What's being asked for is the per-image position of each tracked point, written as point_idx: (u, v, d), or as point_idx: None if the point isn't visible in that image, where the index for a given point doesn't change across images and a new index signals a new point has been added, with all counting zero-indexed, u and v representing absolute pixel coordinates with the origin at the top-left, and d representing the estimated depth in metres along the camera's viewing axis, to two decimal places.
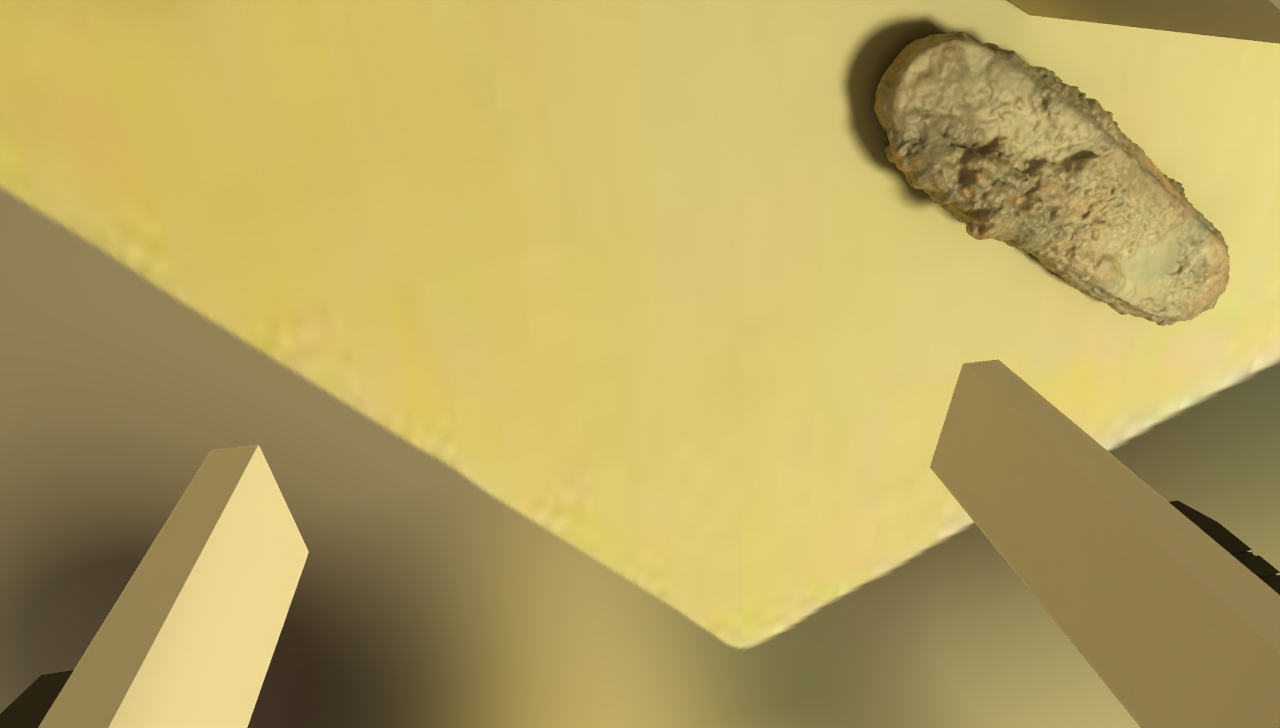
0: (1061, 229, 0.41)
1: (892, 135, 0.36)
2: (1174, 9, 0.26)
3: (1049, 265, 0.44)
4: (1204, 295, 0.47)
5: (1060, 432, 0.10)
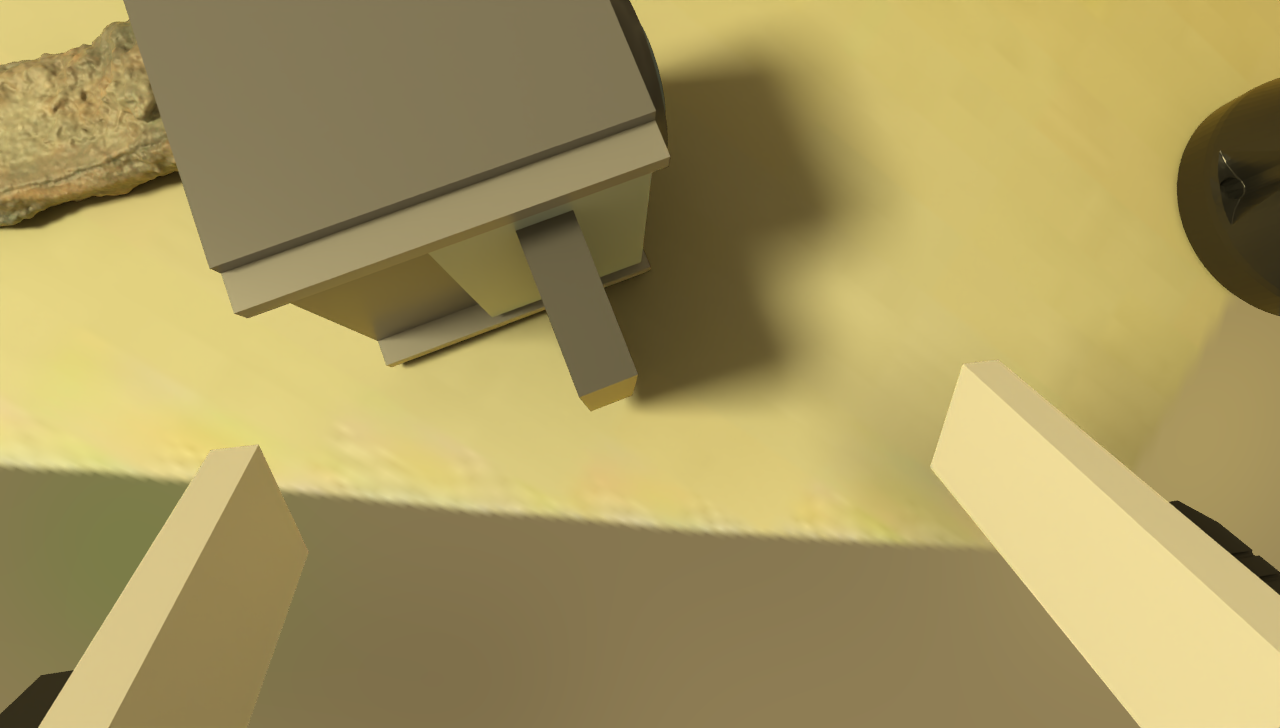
0: (93, 60, 0.35)
1: None
2: None
3: None
4: None
5: (1060, 432, 0.10)
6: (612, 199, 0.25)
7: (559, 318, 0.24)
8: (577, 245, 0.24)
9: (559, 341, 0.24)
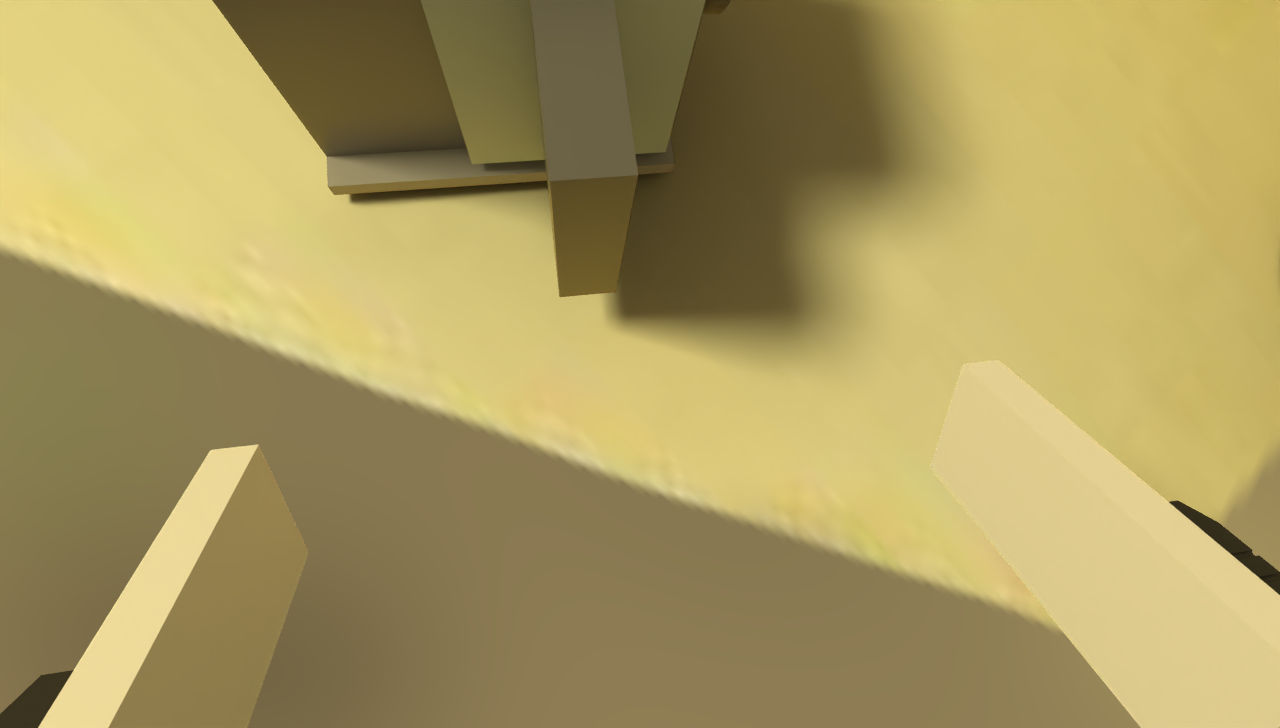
0: None
1: None
2: None
3: None
4: None
5: (1060, 432, 0.10)
6: None
7: (551, 78, 0.17)
8: (602, 0, 0.18)
9: (544, 105, 0.17)
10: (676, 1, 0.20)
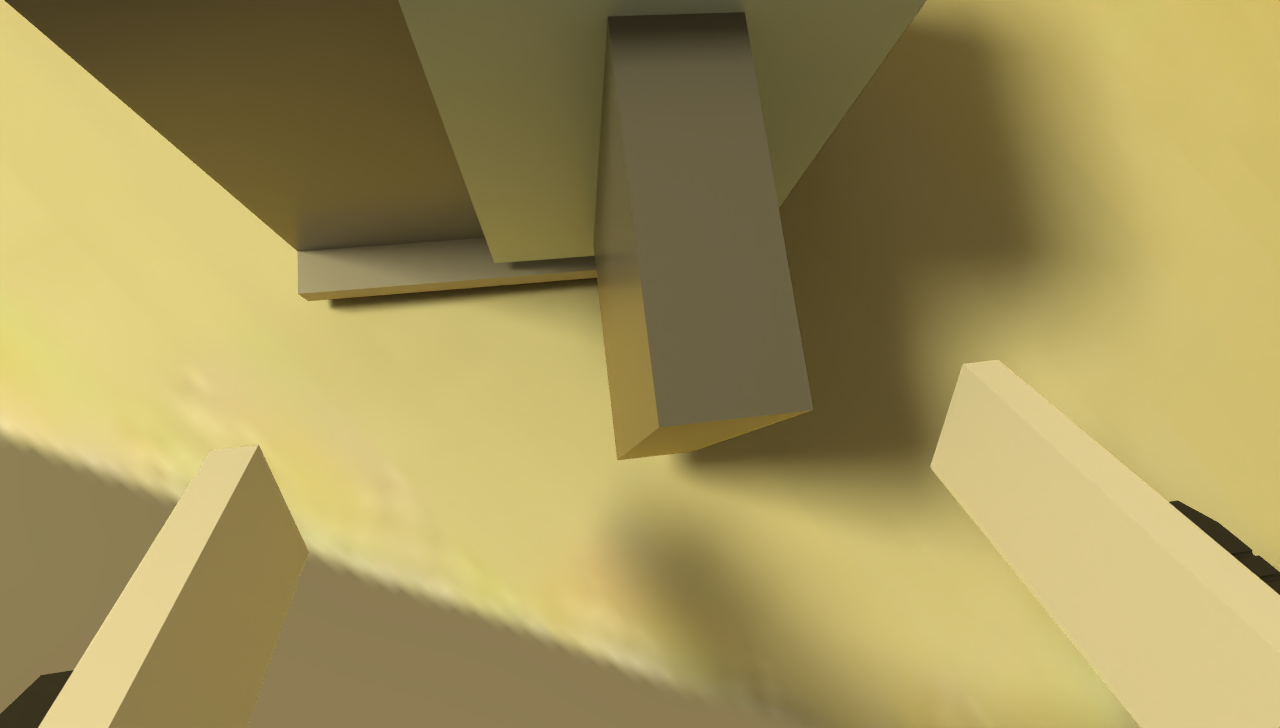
0: None
1: None
2: None
3: None
4: None
5: (1060, 432, 0.10)
6: (825, 28, 0.11)
7: (657, 230, 0.10)
8: (738, 85, 0.11)
9: (644, 280, 0.10)
10: (832, 71, 0.13)
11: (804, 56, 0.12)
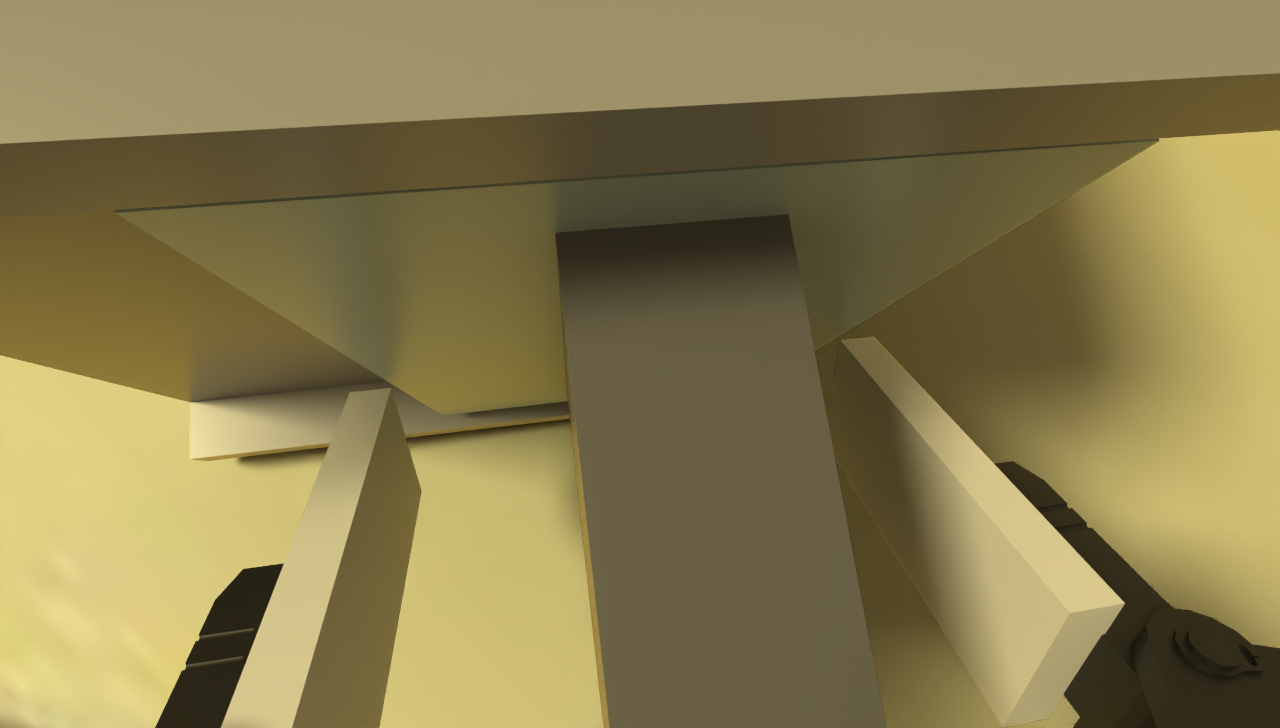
0: None
1: None
2: None
3: None
4: None
5: (911, 400, 0.11)
6: (915, 221, 0.07)
7: (642, 647, 0.05)
8: (780, 350, 0.06)
9: None
10: (911, 258, 0.08)
11: (873, 248, 0.08)
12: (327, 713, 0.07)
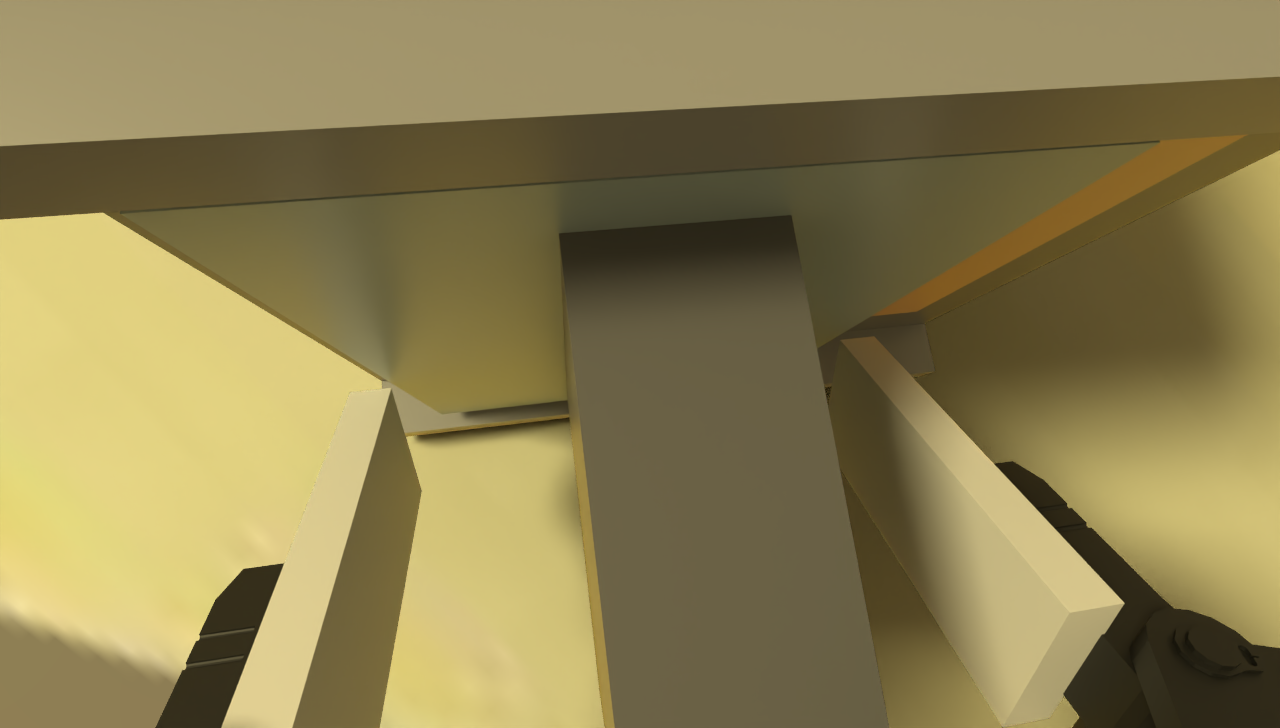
0: None
1: None
2: None
3: None
4: None
5: (911, 400, 0.11)
6: (917, 221, 0.07)
7: (648, 647, 0.05)
8: (784, 351, 0.06)
9: None
10: (912, 258, 0.08)
11: (875, 248, 0.08)
12: (327, 713, 0.07)
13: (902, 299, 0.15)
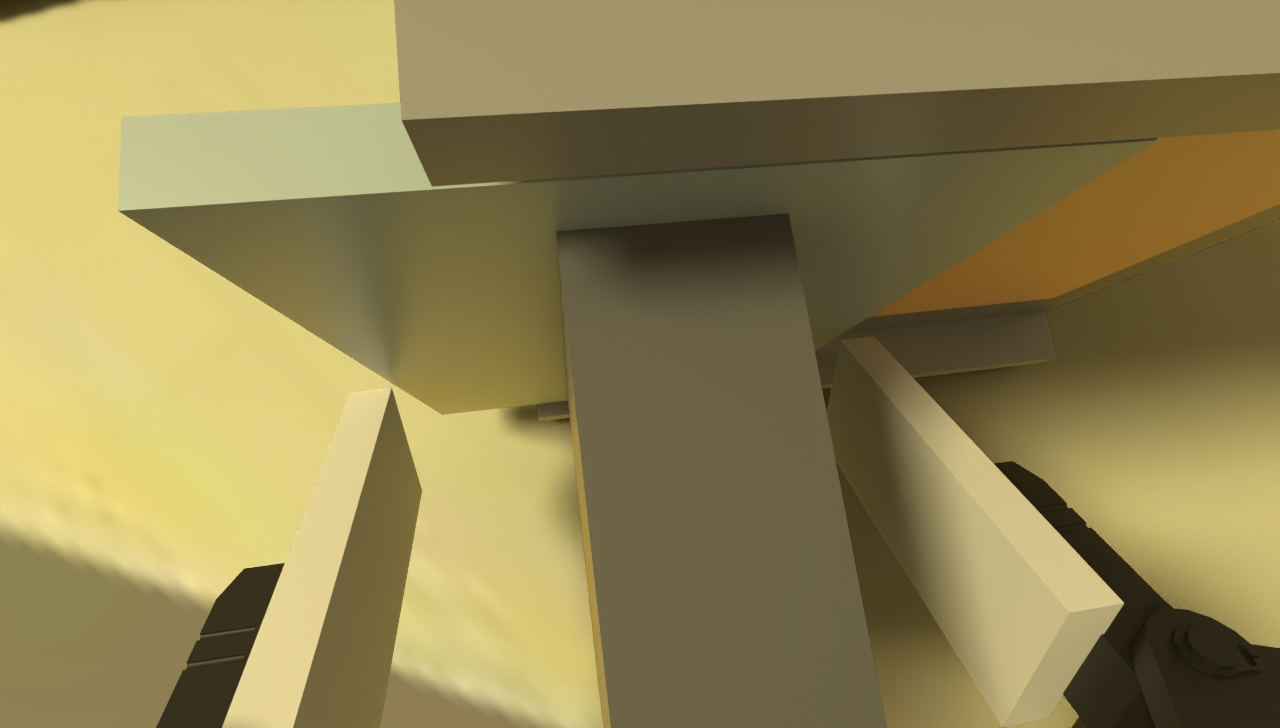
0: None
1: None
2: None
3: None
4: None
5: (910, 399, 0.11)
6: (915, 219, 0.07)
7: (644, 643, 0.05)
8: (780, 349, 0.06)
9: None
10: (911, 257, 0.08)
11: (873, 247, 0.08)
12: (328, 712, 0.07)
13: (1052, 285, 0.16)
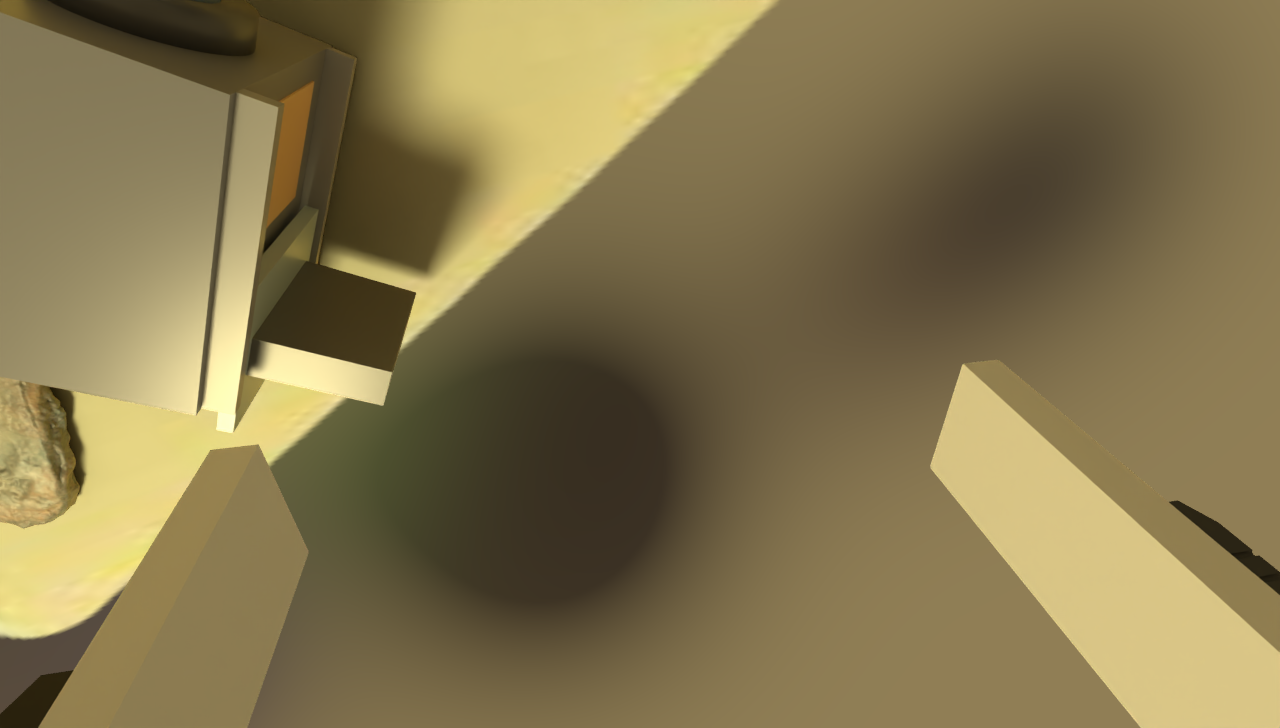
0: None
1: None
2: None
3: None
4: (16, 510, 0.48)
5: (1060, 432, 0.10)
6: (259, 307, 0.32)
7: (326, 387, 0.35)
8: (281, 350, 0.33)
9: (340, 395, 0.35)
10: (269, 285, 0.33)
11: (263, 302, 0.33)
12: None
13: (303, 107, 0.34)
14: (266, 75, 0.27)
